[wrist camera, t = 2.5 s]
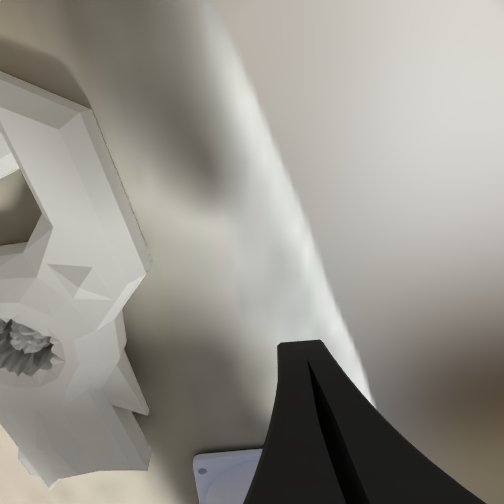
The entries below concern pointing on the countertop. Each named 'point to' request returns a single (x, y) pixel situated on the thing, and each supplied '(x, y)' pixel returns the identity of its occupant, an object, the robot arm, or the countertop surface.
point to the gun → (68, 295)
